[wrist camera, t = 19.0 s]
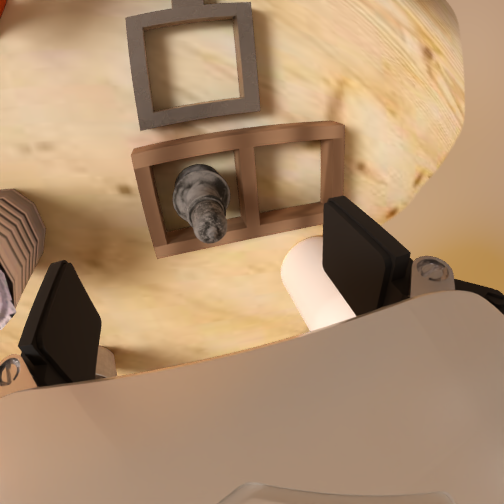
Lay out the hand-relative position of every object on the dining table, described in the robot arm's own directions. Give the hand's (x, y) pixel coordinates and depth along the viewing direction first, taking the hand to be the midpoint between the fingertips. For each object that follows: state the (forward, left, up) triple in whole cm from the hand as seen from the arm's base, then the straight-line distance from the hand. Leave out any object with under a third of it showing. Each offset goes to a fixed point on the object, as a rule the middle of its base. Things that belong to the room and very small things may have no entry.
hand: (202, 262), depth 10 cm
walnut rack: (-7, +6, -23) cm, 25 cm away
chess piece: (-1, +6, -24) cm, 24 cm away
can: (+23, +5, -24) cm, 34 cm away
